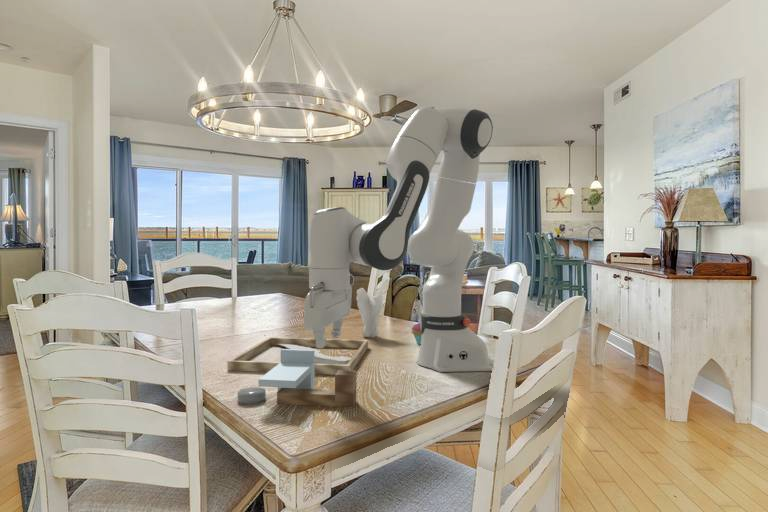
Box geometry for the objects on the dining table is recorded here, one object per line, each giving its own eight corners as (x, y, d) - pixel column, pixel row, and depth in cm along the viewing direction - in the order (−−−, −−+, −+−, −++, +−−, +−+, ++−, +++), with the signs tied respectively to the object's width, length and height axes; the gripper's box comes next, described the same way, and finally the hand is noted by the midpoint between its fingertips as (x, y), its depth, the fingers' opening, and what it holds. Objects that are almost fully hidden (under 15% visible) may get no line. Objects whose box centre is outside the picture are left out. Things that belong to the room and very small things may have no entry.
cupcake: (406, 343, 154) (406, 308, 154) (422, 339, 160) (422, 306, 160) (425, 347, 148) (425, 311, 148) (441, 343, 154) (441, 308, 154)
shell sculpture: (385, 335, 166) (385, 287, 165) (373, 340, 159) (373, 289, 158) (367, 333, 170) (367, 286, 170) (354, 337, 163) (354, 288, 163)
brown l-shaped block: (356, 401, 99) (356, 370, 98) (353, 407, 95) (353, 375, 95) (282, 398, 101) (282, 367, 101) (276, 404, 97) (276, 372, 97)
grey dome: (269, 396, 103) (268, 387, 103) (260, 405, 97) (260, 396, 97) (243, 395, 103) (243, 387, 103) (233, 405, 97) (233, 396, 97)
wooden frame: (368, 347, 148) (368, 340, 148) (349, 375, 118) (349, 365, 118) (269, 344, 152) (269, 337, 152) (227, 370, 122) (227, 361, 122)
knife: (357, 367, 126) (357, 358, 126) (334, 373, 121) (334, 363, 121) (292, 344, 154) (292, 336, 154) (271, 347, 149) (271, 340, 149)
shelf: (314, 389, 107) (314, 349, 106) (295, 411, 93) (295, 366, 93) (282, 387, 108) (282, 348, 107) (258, 409, 94) (258, 365, 94)
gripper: (325, 286, 88) (325, 355, 89) (356, 276, 108) (355, 333, 109) (296, 285, 90) (295, 353, 90) (331, 275, 110) (331, 331, 110)
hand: (328, 342), depth 100 cm, fingers open, 8 cm apart
